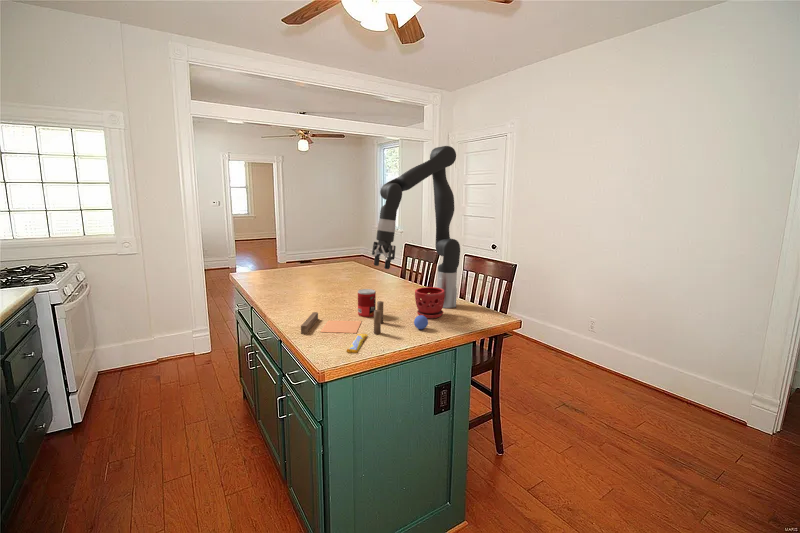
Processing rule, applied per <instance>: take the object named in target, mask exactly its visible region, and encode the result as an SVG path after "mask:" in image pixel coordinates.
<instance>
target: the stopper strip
mask: <svg viewBox="0 0 800 533" xmlns="http://www.w3.org/2000/svg"><path fill="white" fill-rule="evenodd" d="M318 320H319V312H318V311H316V312H315V311H313V312H312V313H311V314H310V315H309V316H308V317H307V318H306V320H305V321H304V322H303V323H302V324H301V325H300V334H302V335H304V334H305V335H306V334H307V333H308V332H309V331H310V330H311V328H312V327H313V326H314V325H315V324H316V322H317V321H318Z"/></svg>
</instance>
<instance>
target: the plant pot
mask: <svg viewBox="0 0 800 533" xmlns="http://www.w3.org/2000/svg"><path fill="white" fill-rule="evenodd" d="M444 298H445V292H444V290H443V289H441V288H437V286H436V287H435V286H425V287H424V286H423V287H419V288H416V289H415V290H414V300H415V305H416V308H417V311H416V313H417V316H419V315H423V316H425V317H426V318H427V319H430V320H431V319H438V318H440V317H441V316H443V313H444V311H443V309H444V308H443V305H444Z"/></svg>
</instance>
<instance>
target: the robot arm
mask: <svg viewBox="0 0 800 533" xmlns="http://www.w3.org/2000/svg"><path fill="white" fill-rule="evenodd" d="M456 159H457V152H456V150H455V148H453V147H452V146H450V145H442V146H437V147H434V148H433V149H432V150H431V151H430V154H429V160H426V161H424V162H422V163H420V164H418V165H416V166H414V167H411V168H410V169H409V170H407V171H406V172H404V173H402V174H400V176H398V177H396V178H394V179H391V180H389V181H387V182H385V183H384V184H383V185H382V186H381V187H380V191H379V194H380V197H381V198H383V199H384V200H385V204H384V205H382V206H381V207H380V212H379V220H378V223H377V233H376V241H374V242H373V244H372V251H371V255H372V256H374V259H373V260H374V261H373V265H374V266H376V267H378V266H379V265H380V259H381V258H380V257H381V255H383V257H384V259H385V262H384V269H385V270H389V269H391V262H392V260H393V261H394V260H395V257H396V256H395V255H396V248H397V247H396V245H394V244H392V243H393V242H394V241H395V240H394V239H395V232H396V227H397V226H396V223H397V222H396V220H397V213H398V209H399V207H400V204H401V201H402V197H403V192H405V191H409V190H410V189H413V188H414V187H415V186H417V185H418V184H419V183H422V181H424V180H426V179H427V178H428V177H430V176H432V184H433V187H432V188H433V197H434V198H433V199H434V200H433V201H434V211H435V212H434V214H435V216H434V217H435V251H436V253H437V255H438V256H440V257H443V258H442V262H441V263H440V264H438V266H437V286H436V288H441V289H443V290H444V292H445V298H444V305H443V308H442V309H453V308H456V307H457V295H458V292H457V290H458V288H457V280H458V278H457V275H458V268H459V266H460V259H461V258H460V257H461V245H460V242H459V241H458V240H457V239H455V238H451V236H450V225H451V222H452V219H453V216H454V214H455V196H454V193H453V189H452V188H451V186H450V184H449V182H448V178H447V173H446V172H447V171H446V168H448V167H450V166H452V165H454V163H455V162H456Z"/></svg>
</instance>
